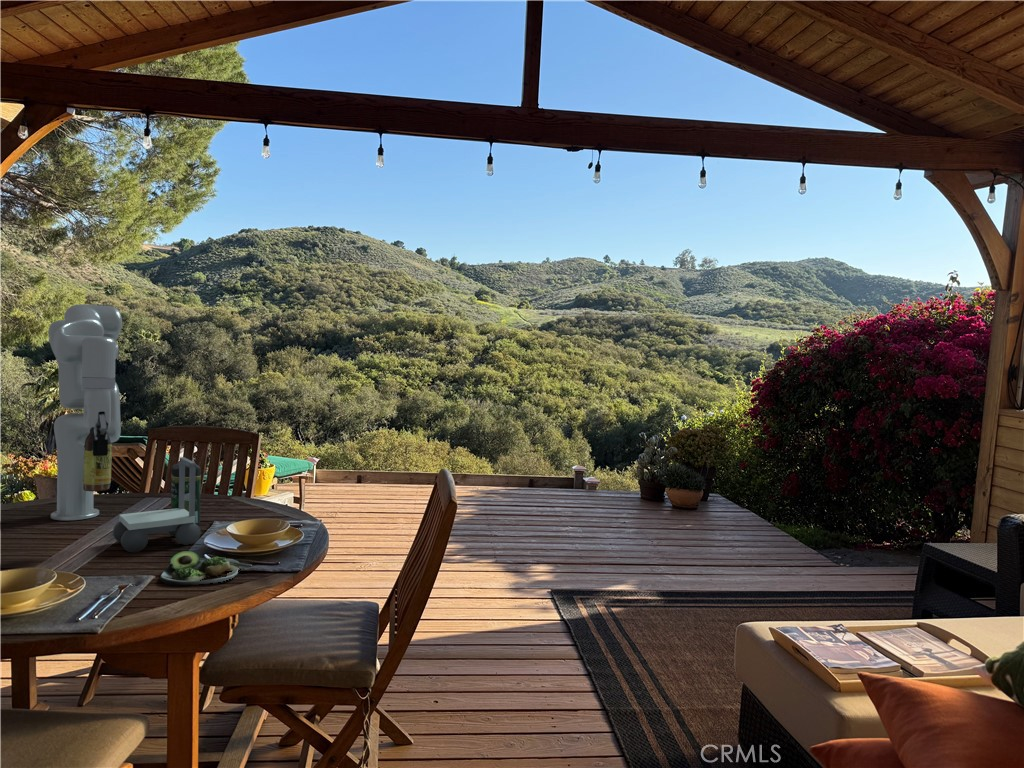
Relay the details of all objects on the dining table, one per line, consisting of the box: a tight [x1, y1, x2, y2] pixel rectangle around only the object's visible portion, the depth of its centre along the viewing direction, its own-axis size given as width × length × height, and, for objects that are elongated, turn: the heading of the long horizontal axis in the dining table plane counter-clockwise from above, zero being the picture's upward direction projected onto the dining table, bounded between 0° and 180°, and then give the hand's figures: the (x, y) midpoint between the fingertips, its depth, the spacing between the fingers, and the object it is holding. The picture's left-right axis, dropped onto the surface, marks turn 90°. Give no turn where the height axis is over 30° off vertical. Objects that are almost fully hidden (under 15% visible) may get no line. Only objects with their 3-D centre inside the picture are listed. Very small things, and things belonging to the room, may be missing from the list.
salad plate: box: [159, 550, 253, 587], centre depth 166 cm, size 19×18×5 cm
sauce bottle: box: [83, 418, 113, 492], centre depth 180 cm, size 6×6×20 cm
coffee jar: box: [170, 461, 202, 525], centre depth 209 cm, size 10×8×19 cm
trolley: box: [112, 456, 202, 554], centre depth 188 cm, size 12×19×22 cm, turn 130°
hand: (97, 453), depth 180 cm, fingers closed on sauce bottle, 6 cm apart
